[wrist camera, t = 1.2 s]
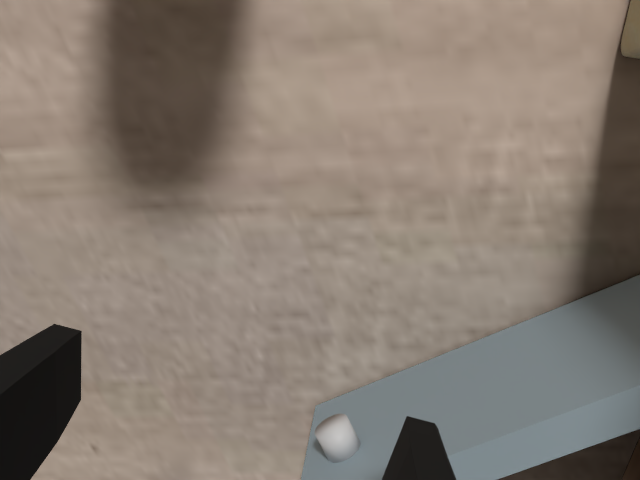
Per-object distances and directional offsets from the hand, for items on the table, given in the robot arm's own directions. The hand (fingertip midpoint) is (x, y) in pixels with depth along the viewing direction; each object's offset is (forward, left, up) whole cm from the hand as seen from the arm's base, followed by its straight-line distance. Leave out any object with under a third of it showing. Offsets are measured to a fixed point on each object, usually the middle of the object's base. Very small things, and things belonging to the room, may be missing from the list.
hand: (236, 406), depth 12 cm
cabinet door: (0, -8, -10) cm, 13 cm away
